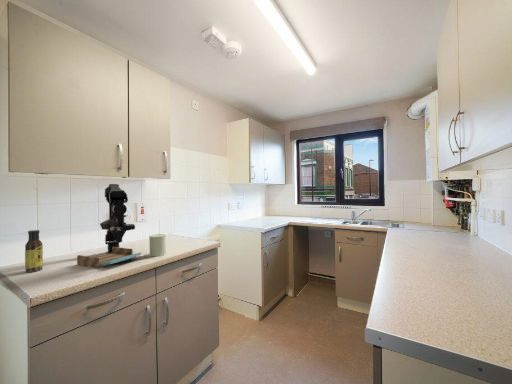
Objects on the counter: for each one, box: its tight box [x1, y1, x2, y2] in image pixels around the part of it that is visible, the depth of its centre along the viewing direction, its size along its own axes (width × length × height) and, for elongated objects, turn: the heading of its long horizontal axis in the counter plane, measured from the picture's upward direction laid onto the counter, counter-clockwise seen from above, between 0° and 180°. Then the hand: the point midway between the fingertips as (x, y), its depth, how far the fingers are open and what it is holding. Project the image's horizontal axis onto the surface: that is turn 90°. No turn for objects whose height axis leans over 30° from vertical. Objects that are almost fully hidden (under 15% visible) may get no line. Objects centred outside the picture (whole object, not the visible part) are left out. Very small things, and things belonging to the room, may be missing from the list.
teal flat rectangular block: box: [100, 252, 142, 267], centre depth 122 cm, size 2×17×8 cm
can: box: [148, 233, 167, 257], centre depth 138 cm, size 9×9×12 cm
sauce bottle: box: [24, 229, 44, 273], centre depth 113 cm, size 6×6×20 cm
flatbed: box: [76, 246, 134, 269], centre depth 126 cm, size 16×20×5 cm
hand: (118, 242), depth 123 cm, fingers closed
